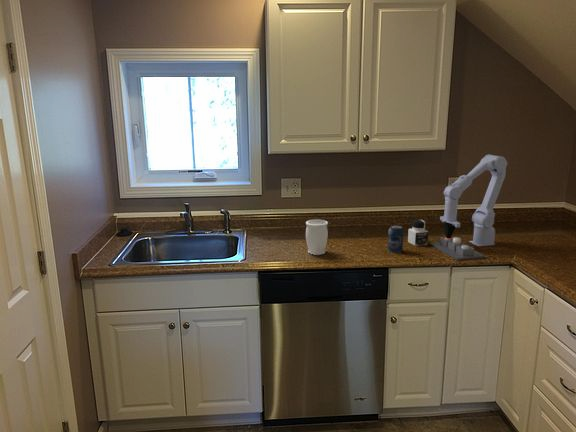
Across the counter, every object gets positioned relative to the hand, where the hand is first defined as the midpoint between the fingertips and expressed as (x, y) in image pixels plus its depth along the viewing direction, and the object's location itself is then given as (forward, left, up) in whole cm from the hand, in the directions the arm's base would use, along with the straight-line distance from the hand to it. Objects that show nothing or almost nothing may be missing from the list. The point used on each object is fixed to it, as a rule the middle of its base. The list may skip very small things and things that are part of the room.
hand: (448, 237), depth 219 cm
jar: (+65, -7, -5) cm, 66 cm away
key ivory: (0, +7, -1) cm, 7 cm away
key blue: (0, +14, -3) cm, 14 cm away
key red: (0, 0, -3) cm, 3 cm away
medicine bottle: (+12, -8, -5) cm, 15 cm away
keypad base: (0, +7, -4) cm, 8 cm away
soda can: (+28, 0, -5) cm, 28 cm away
